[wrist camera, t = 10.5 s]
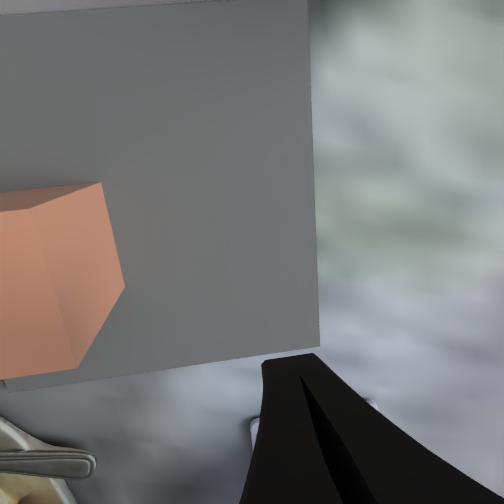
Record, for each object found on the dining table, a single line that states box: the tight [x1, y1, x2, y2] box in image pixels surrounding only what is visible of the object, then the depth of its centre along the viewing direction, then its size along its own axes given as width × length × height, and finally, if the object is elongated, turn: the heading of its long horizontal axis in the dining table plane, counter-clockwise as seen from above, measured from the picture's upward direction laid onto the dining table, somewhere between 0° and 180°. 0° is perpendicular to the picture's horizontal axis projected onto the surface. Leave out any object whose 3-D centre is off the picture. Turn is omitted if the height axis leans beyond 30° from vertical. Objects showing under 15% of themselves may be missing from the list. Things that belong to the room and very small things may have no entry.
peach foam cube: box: [0, 182, 125, 380], centre depth 13 cm, size 5×5×7 cm
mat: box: [0, 0, 320, 393], centre depth 17 cm, size 17×17×1 cm
